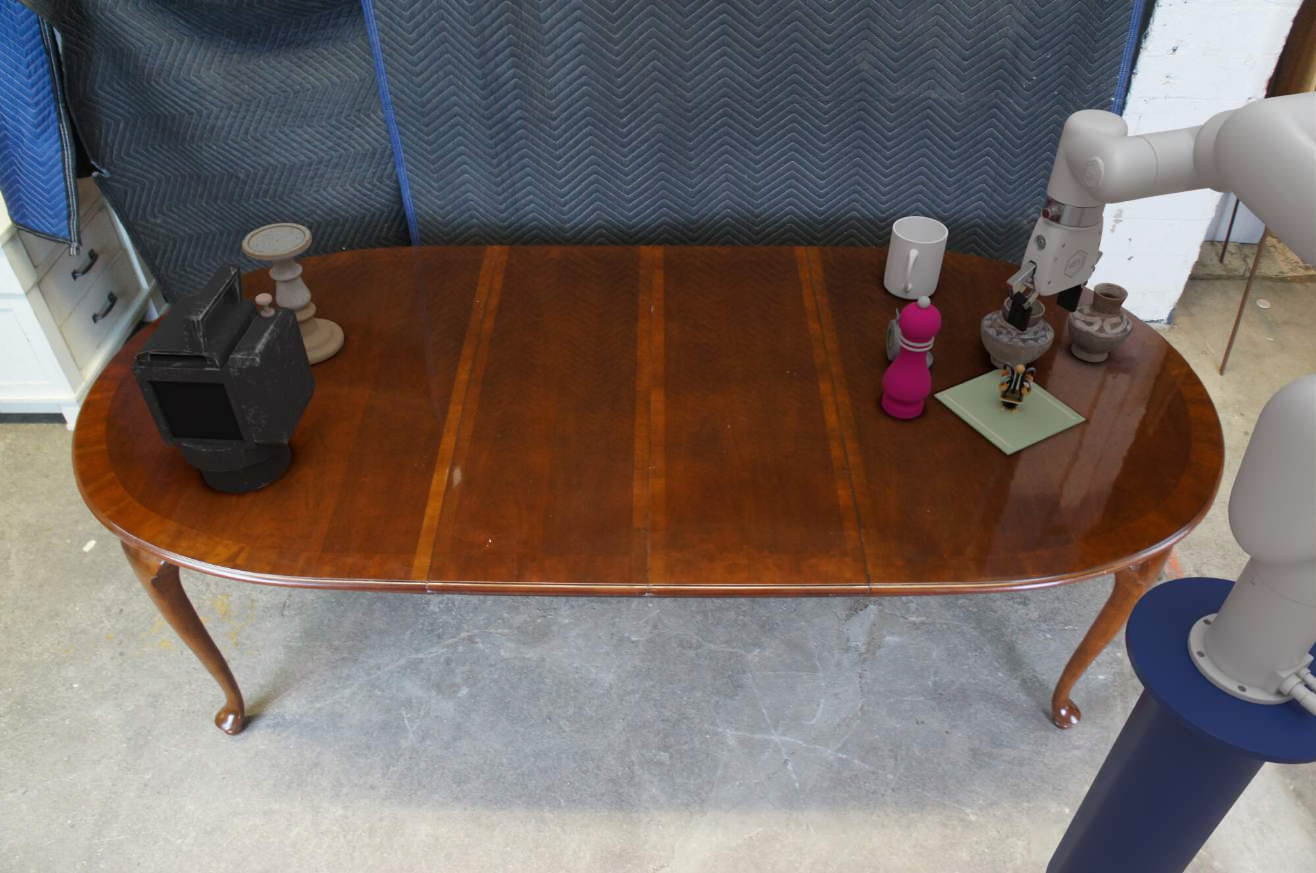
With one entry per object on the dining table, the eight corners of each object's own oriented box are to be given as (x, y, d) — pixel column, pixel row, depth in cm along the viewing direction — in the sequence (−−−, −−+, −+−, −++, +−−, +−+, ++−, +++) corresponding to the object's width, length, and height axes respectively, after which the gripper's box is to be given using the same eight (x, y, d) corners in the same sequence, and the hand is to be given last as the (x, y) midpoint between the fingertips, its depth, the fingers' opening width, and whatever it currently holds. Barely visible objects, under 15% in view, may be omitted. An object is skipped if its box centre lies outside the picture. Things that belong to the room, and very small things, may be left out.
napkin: (1085, 420, 150) (1085, 419, 150) (1007, 455, 144) (1008, 453, 144) (1008, 366, 160) (1009, 364, 160) (933, 396, 154) (934, 394, 154)
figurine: (987, 411, 151) (1004, 370, 146) (991, 393, 154) (1008, 352, 149) (1019, 420, 150) (1037, 379, 144) (1022, 402, 153) (1040, 361, 148)
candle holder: (353, 324, 170) (327, 219, 156) (333, 367, 160) (304, 259, 147) (282, 324, 170) (250, 218, 156) (258, 366, 160) (222, 258, 147)
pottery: (1134, 369, 160) (1159, 306, 152) (991, 385, 156) (1009, 321, 148) (1097, 331, 168) (1119, 269, 161) (961, 345, 164) (976, 283, 157)
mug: (932, 274, 182) (944, 217, 174) (940, 310, 173) (953, 252, 165) (881, 272, 182) (890, 215, 175) (885, 307, 173) (896, 249, 166)
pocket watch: (940, 365, 161) (952, 314, 154) (901, 382, 157) (912, 330, 151) (905, 341, 166) (915, 290, 159) (867, 356, 162) (876, 305, 156)
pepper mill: (874, 415, 151) (895, 305, 138) (882, 388, 156) (902, 279, 143) (922, 425, 149) (948, 315, 136) (928, 397, 154) (953, 288, 141)
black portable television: (217, 428, 149) (150, 253, 129) (333, 432, 148) (284, 258, 128) (174, 497, 137) (94, 318, 118) (299, 503, 137) (240, 323, 117)
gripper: (1047, 235, 124) (1016, 347, 135) (1141, 203, 130) (1104, 313, 141) (1003, 211, 129) (977, 321, 140) (1096, 182, 135) (1064, 289, 146)
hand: (1041, 317), depth 141 cm, fingers open, 9 cm apart
